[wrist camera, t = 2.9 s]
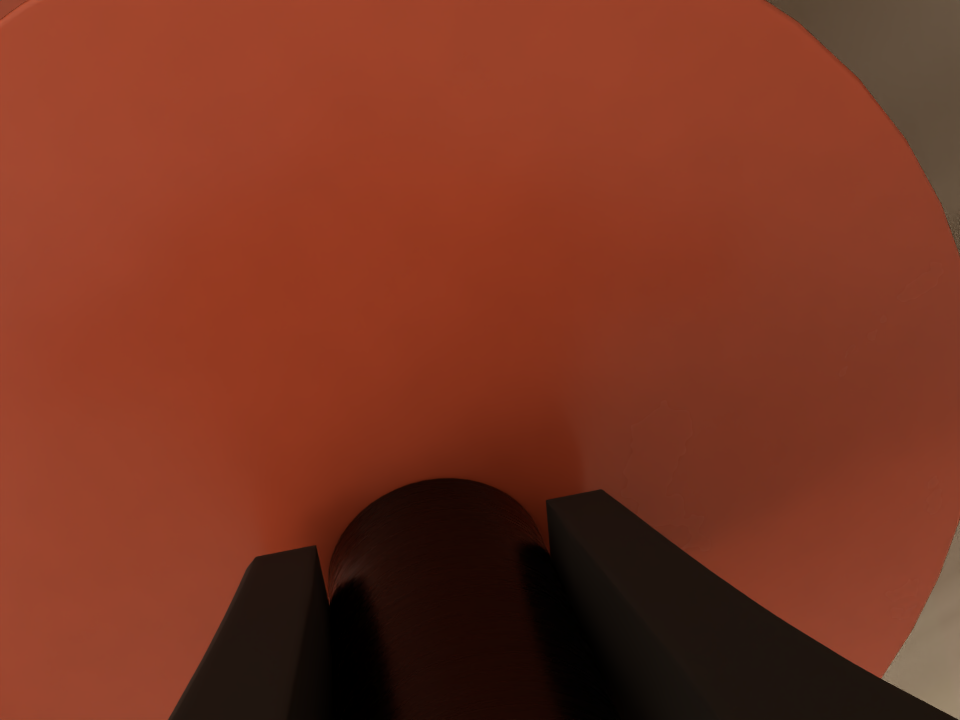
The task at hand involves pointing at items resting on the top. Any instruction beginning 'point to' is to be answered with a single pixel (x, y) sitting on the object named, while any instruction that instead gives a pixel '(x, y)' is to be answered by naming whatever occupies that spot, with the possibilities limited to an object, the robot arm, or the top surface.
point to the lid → (452, 336)
